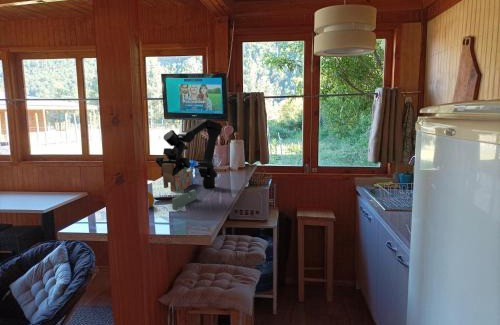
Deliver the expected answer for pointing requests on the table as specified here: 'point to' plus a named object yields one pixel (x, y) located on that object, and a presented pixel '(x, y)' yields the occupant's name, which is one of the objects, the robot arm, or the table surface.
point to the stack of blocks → (183, 180)
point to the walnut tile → (168, 175)
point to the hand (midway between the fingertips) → (167, 175)
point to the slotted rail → (183, 199)
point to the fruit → (150, 199)
